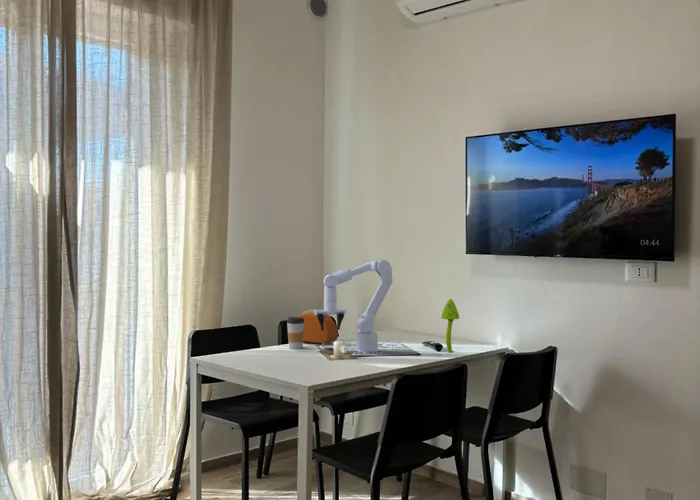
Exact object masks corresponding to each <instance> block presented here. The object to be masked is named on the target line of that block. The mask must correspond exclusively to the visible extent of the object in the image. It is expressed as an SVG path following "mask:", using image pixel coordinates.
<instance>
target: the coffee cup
mask: <svg viewBox="0 0 700 500" xmlns="http://www.w3.org/2000/svg"><path fill="white" fill-rule="evenodd" d="M286 325H287V340H288V348H289V349H290V350H301V349H303V346H304V345H303V343H304V341H303V334H304V319H303V317H298V316H289V317H287V320H286Z"/></svg>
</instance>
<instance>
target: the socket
mask: <svg viewBox="0 0 700 500" xmlns="http://www.w3.org/2000/svg"><path fill="white" fill-rule="evenodd" d="M323 350H324V352H325V353H326V354H328V355H334V347H324V348H323ZM345 354H346V353H345Z"/></svg>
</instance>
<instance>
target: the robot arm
mask: <svg viewBox="0 0 700 500" xmlns="http://www.w3.org/2000/svg"><path fill="white" fill-rule="evenodd" d="M369 271H371V272H375V273H377V274H378V276H379V279H380V282H379V285H378V286H377V288H376V289H375V292H374V294H373V295H372V298H371V300H370V301H369V304H368V306H367V308H366V309H365V311H364V312H363V313H362V315H361V316H360V317H359V318H358V319H357V320H356V327H357V328H358V329H357V330H356V348H355V349H354V351H356V352H357V353H368V352H373V353H374V352H379V351H378V348H379V347H378V346H379V345H378V343H379V342H378V341H379V339H378V338H379V337H378V334H377V332H376V331H373V326H374V325H373V324H374V321H375V320H376V319H375V317H376V315H377V313H378V311H379V309H380V306H381V305H382V303H383V301H384V299H385V297H386V296H387V293H388V291H389V290H390V288H391V286H392V283H393V273H392V271H393V267H392V266H391V264H390V262H389V261H388V260H385V259H382V258H381V259H379V258H378V259H376V260H372V261H368V262H367V263H363V264H360V265H359V266H356V267H354V268H352V269H350V268H345V267H343V268H341V270H338V271H336V272H333V271H332V274H327V275H326V276H325V277H324V278H323V284H324V291H323V293H324V296H323V300H324V301H323V308H324V309H314V310H315V315H317V318H318V320H319V323H320V326H321V330H322V331H323V330H324V325H323V323H324V316H323V315H324V314H327V315H336V327H337V330H338V331H340V329H341V324H342V322H343V320H344V318H345V315H346V314H347V310H346V309H341V308H340V309H338V308H337V300H338V299H337V297H338V296H337V292H338V291H337V285H341V284H344V283H346V282H349V281H351V280H352V279H353V278H354V276H357V275H360V274H363V273H367V272H369Z"/></svg>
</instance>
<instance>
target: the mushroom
mask: <svg viewBox="0 0 700 500" xmlns="http://www.w3.org/2000/svg"><path fill="white" fill-rule="evenodd" d="M440 317H441V319H443V320H447V321H448V322H447V328H446V335H445V341H446V349H447V352H448V353H453V348H452V328H453V321H454V320H460V315H459V311H458V308H457V306H456V304H455V301H453V300H452V298H449V299H448V300H447V301H446V304H445V306H444V308H443V310H442V314H441V316H440Z"/></svg>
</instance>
